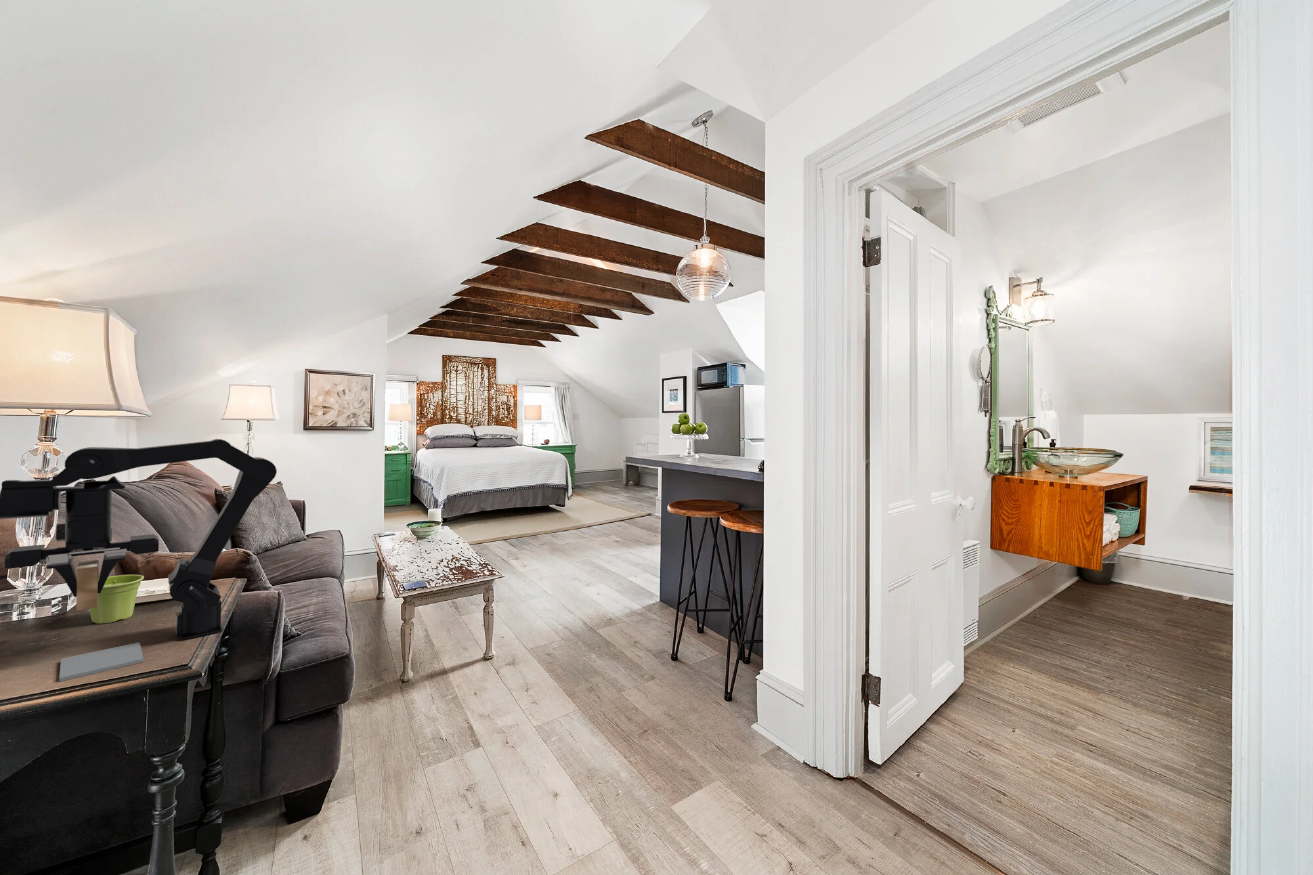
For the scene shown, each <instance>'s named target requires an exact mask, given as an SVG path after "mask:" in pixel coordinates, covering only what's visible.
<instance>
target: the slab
mask: <svg viewBox="0 0 1313 875" xmlns="http://www.w3.org/2000/svg"><path fill="white" fill-rule="evenodd" d="M99 562H100V561H99V559H95V560H87V561H79V562H78V564H77V567H76V578H77V597H76V611H82V610H90V609H89V608H96V607H97V604H98V579H99V577H100V573H99V569H100V568H99V567H100V566H99Z"/></svg>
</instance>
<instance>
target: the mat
mask: <svg viewBox="0 0 1313 875" xmlns="http://www.w3.org/2000/svg"><path fill="white" fill-rule="evenodd" d="M140 663H144V655H143V650H142V647H141V642H134V643H129V644H125V645H124V644H123V645H120V646H115V647H111V648H106V649H100V650H95V651H91V652H87V653H83V654H82V653H81V654H77V655H73V656H68V657H64V658H60V667H59V678H58V679H59V680H58V681H59V682H64V681H68V680H72V679H76V678H81V677H85V676H89V675H93V674H97V673H101V672H106V671H110V670H114V669H118V668H123V667H126V666H127V667H128V666H130V665H135V664H140Z"/></svg>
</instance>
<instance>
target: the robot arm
mask: <svg viewBox="0 0 1313 875" xmlns="http://www.w3.org/2000/svg"><path fill="white" fill-rule="evenodd" d="M207 459H219V460H220V461H222V462H224V463H225V464H228V465H230V466H231V467H233V468H234V469H237V470H238V474H237V476H236V479H235V483H234V486H233V490H232V492H231V495H230V496H229V498H228V499H227V500H226V503H225V504H224V506H223V507H222V509H221V511H220V513H219V514H218V515H217V517H216V518H215V521H214V522H212V526H210V528H209V530H208V531H207V533H206V535H205V536H204V538H203V540H202V541H201V543H200V545H199V546H198V548H197V549H196V551H195V552H194V553H193V554H192V555H191V556H190V557H189V558H188V559H184V558H179V559H178V561H177V563H176V566H175V568H174V569H173V571H172V572H170V573H169V574H168V575H167V579H168V580H167V583H168V588H169V595H170V596H171V598H172V599H173V600H174V601H176V602H179V603H182V604H179V612H176V613H175V634H176V636H178V637H179V638H180V640H182V641H185V640H189V639H192V638H193V639H194V638H197V637H198V638H199V637H202V636H207V635H211V634H216V633H221V632H223V631H224V628H223V627H222V600H221V598H222V595H221V592H220V590H219V587H218V585H216V584H214V583H212V582H211V580H212V577H213V574H214V570H215V568H216V563H217V561H218V558H219V557H220V556H221V553H222V552H223V550H224V549H225V548H226V546H227V544H228V542H229V541H230V539H231V538H232V536H233V534H234V532H235V531H236V529H237V527H238V525H239V524H240V522H241V521H242V519H243V517H244V515H245V513H246V512H247V510H248V509H249V507H250V506H251V504H252V503H253V501H254V499H255V498H257V497H258V496H259V495H260V494H261V493H262V492H264V490H265V489H266V488H267V487H268V486H269V485H270V483H271V482H273V481H274V479H275V478H276V476H277V472H278V471H277V467H276V465H275V464H274V462H272V461H270V460H268V459H266V458H263V457H260V456H257V457H256V456H255V457H252V455H249V454H247V453H246V452H244V451H242V450H240V449H239V448H238V447H235V446H234V445H231V443H230V442H228V441H227V440H225V439H221V438H215V439H211V440H205V441H197V442H195V441H194V442H188V443H187V442H185V443H177V444H166V445H157V446H156V445H155V446H147V447H139V448H137V447H136V448H135V447H108V446H107V447H104V446H102V447H101V446H100V447H98V446H97V447H93V446H91V447H89V446H87V447H83V448H80V449H78V450H75V451H74V452H71V454H69V455H68V456H67V457H66V459H65V460H64V469H62V470H61V471H60V472H59V473H56V474H54V475H52V479H42V480H41V479H38V480H37V479H36V480H35V479H34V480H21V479H20V480H19V479H6V480H4V481H2V482H1V488H0V520H7V519H8V520H9V519H21V518H22V519H24V518H26V519H27V518H38V517H51V515H52V513H53V512H54V511H60V510H61V506H62V492H65V515H64V517H65V521H64V523H58V524H57V523H56V526H55V528H56V530H55V541H56V542H64V547H54V548H46V547H45V544H35V545H25V546H15V547H13V548H12V549H10V550H9V551H8V552H7V553H6V554H5V558H4V570H5V569H7V570H8V569H9V570H10V569H11V570H12V569H17V568H18V569H20V568H27V567H28V568H29V567H34V566H35V565H37V564H39V563H40V562H41V560H45V562H47V564H46V566H45V569H47V570H52V569H53V570H55V571H56V572H57V573H58V574H59V575H60V576H61V578H62V579H63V580H64V582H65V584H66V585H67V587H68V588H69V590H70V592H71V594H72V596H73V597H74V598H77V572H76V569H75V568H76V567H75V559H74V557H79V556H81V557H82V556H88V555H96V554H104V555H103V560H102V564H101V568H100V573H99V577H98V579H99V581H98V594H99V593H101V591H102V589H103V587H104V584H105V582H106V580H107V578H108V577H110V574H111V572H112V571H113V569H114V568H115V567H116V564H118V562H120V561H121V562H122V561H126V559H127V553H128V552H127V551H130V552H131V553H132V554H135V555H143V554H150V553H151V554H153V553H158V552H159V548H160V547H159V546H160V545H159V544H160V543H159V542H160V541H159V536H158V535H157V534H154V533H153V534H151V533H150V534H143V535H131V536H130V540H126V541H114V542H112V538H113V534H112V533H113V529H112V496H113V495H112V494H113V493H112V491H113V490H124V489H126V486H127V484H126V483H124V482H123V481H120V480H119V479H118V477H116V476H115V475H114V474H119V473H122V472H126V471H129V470H132V469H137V468H141V467H148V466H157V465H164V464H174V463H182V462H188V461H189V462H192V461H198V460H207ZM110 475H113V476H111V477H110V478H109V479H107V480H94V479H98V478H99V479H100V478H103V477H107V476H110ZM80 480H87V481H84V483H83V485H80V486H79V485H78V486H77V485H76V486H69V485H71V484H73V483H76V482H77V481H80Z"/></svg>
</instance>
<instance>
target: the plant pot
mask: <svg viewBox="0 0 1313 875" xmlns="http://www.w3.org/2000/svg"><path fill="white" fill-rule="evenodd" d="M144 578H145V576H144V575H141V574H123V575H122V574H120V575H113V576H108V578H107V580H106V582H105V584H104V587H103V589H102V591H101V593H99V594H98V604H97V607H96V608H89V609H88V610H89V615H90V618H91V622H92V623H95V624H109V623H114V622H115V623H116V621H118V620H119V621H120V620H126V619H129V618H131V617H132V616H133V614H134V609H135V604H136V600H137V596H138V591H139V587H140V586H141V582H142V581H143V580H144ZM98 581H99V578H98Z"/></svg>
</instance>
